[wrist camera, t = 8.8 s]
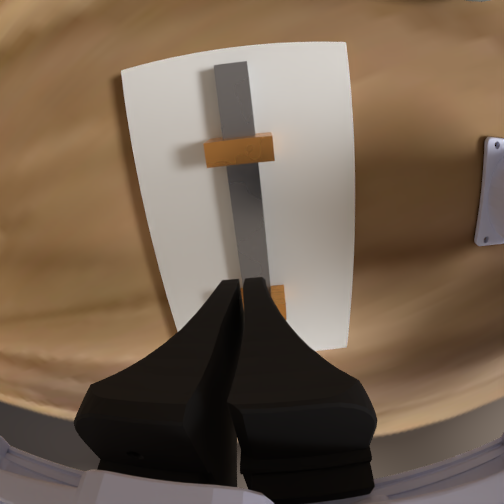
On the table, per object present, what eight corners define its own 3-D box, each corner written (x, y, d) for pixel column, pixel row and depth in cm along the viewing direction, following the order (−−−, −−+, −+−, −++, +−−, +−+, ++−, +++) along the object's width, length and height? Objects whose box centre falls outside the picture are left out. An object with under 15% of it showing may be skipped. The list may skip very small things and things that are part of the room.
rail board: (340, 45, 14) (346, 42, 13) (343, 336, 23) (346, 347, 22) (129, 71, 15) (121, 70, 14) (188, 347, 24) (186, 357, 23)
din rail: (263, 61, 14) (263, 56, 12) (287, 343, 22) (288, 363, 20) (200, 69, 14) (193, 65, 12) (242, 346, 22) (240, 366, 20)
